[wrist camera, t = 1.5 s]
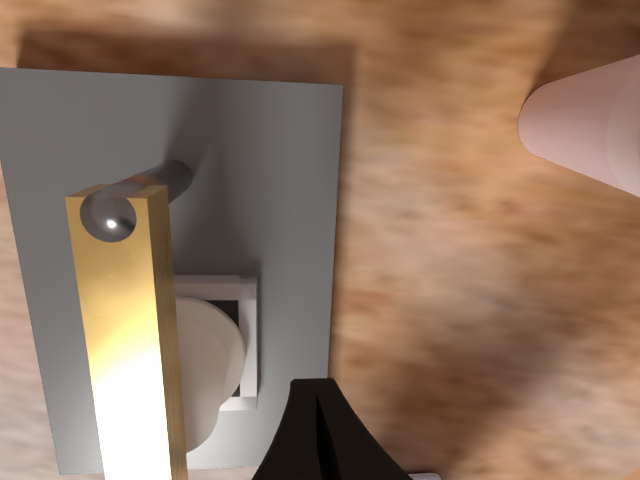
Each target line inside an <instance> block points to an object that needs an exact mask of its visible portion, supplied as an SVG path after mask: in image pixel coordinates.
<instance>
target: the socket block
mask: <svg viewBox="0 0 640 480" xmlns="http://www.w3.org/2000/svg"><path fill="white" fill-rule="evenodd" d="M342 99H343V85H335V84H315V83H296V82H276V81H257V80H237V79H218V78H198V77H179V76H159V75H140V74H120V73H101V72H81V71H62V70H42V69H23V68H4V67H0V161H1V166H2V171H3V177H4V182H5V187H6V193H7V198H8V203H9V209H10V214H11V219H12V225H13V230H14V235H15V241H16V246H17V251H18V256H19V262H20V267H21V272H22V278H23V283H24V288H25V294H26V299H27V304H28V310H29V315H30V320H31V326H32V331H33V336H34V341H35V347H36V352H37V357H38V363H39V368H40V373H41V379H42V384H43V389H44V395H45V400H46V405H47V411H48V416H49V421H50V426H51V432H52V437H53V442H54V448H55V453H56V458H57V464H58V469H59V474H60V475H73V474H95V473H105V470H104V463H103V456H102V449H101V442H100V435H99V428H98V422H97V418H96V414H95V401H94V394H93V387H92V380H91V374H90V367H89V360H88V353H87V346H86V339H85V333H84V326H83V319H82V312H81V305H80V298H79V291H78V285H77V278H76V271H75V264H74V257H73V250H72V243H71V237H70V230H69V223H68V216H67V209H66V202H65V196H68V195H71V194H73V193H76V192H78V191H81V190H84V189H86V188H89V187H92V186H94V185H97V184H114V183H117V182H119V181H121V180H124V179H126V178H129V177H131V176H133V175H136V174H138V173H141V172H143V171H146V170H148V169H150V168H153V167H155V166H158V165H160V164H162V163H165V162H167V161H170V160H177V161H181V162H183V163H184V164H186V165H187V166H188V167H189V169H190V171H191V173H192V183H191V186H190V187H189V188H188V189H187V190H186V191H185V192H184V193H182V194H181V195H180V196H179V197H177V198H176V199H175V200H174V201H172V202H171V203H170V204H169V213H170V228H171V242H172V257H173V271H174V285H175V296H185V297H192V298H197V299H200V300H203V301H206V302H208V303H211V304H213V305H214V306H216V307H218V308H219V309H221V310H222V311H223V312H225V313H226V314H227V315H228V316H229V317H230V318H231V319H232V320H233V321H234V323H235V324H236V325H237V327H238V329H239V330H240V332H241V335H242V337H243V340H244V344H245V363H244V370H243V375H242V378H241V381H240V384H239V385H238V387H237V389H236V391H235V392H234V393H233V395H232V396H231V397H230V398H229V399H228V400H227V401H226V402H225V403H223V404H222V405H221V406H220V409H219V414H218V418H217V423H216V425H215V428H214V430H213V432H212V433H211V435H210V436H209V437H208V439H207V440H206V441H205V442H204V443H203V444H201V445H200V446H199V447H197V448H196V449H194V450H192V451H191V452H188V453H186V457H187V469H208V468H231V467H253V466H260V464H261V463H262V461H263V459H264V457H265V455H266V453H267V451H268V449H269V447H270V445H271V443H272V441H273V438H274V436H275V434H276V432H277V429H278V427H279V424H280V422H281V419H282V416H283V413H284V411H285V408H286V404H287V401H288V397H289V391H290V382H291V381H292V380H293V379H310V378H327V375H328V356H329V338H330V320H331V301H332V283H333V265H334V246H335V228H336V210H337V191H338V173H339V154H340V136H341V118H342Z"/></svg>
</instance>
